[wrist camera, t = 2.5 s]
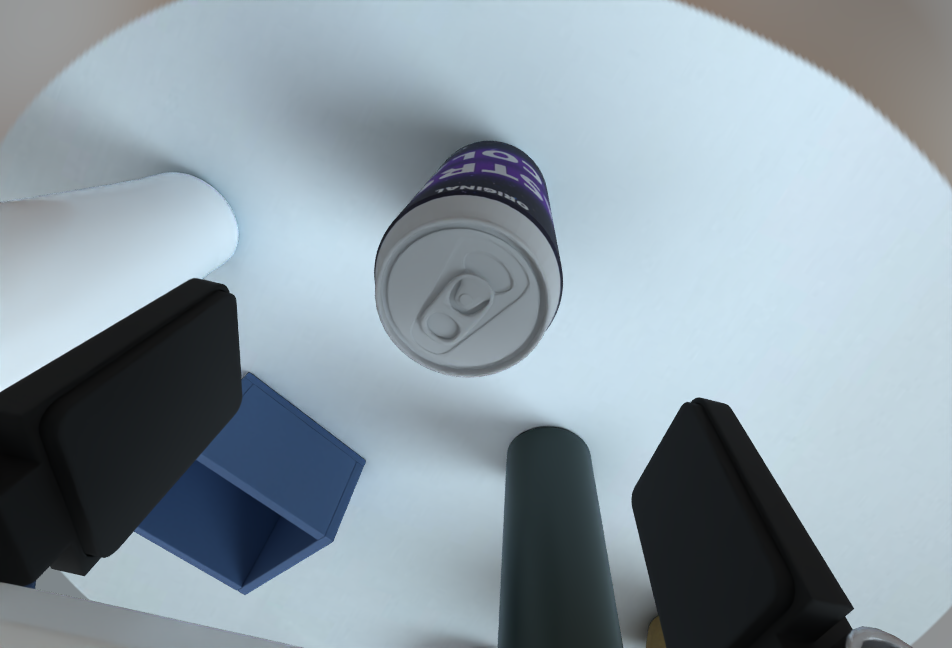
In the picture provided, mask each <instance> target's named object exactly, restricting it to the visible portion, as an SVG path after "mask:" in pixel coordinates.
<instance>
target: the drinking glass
mask: <svg viewBox="0 0 952 648" xmlns="http://www.w3.org/2000/svg"><path fill="white" fill-rule="evenodd" d="M238 238H239V231H238V225H237V221H236V218H235V215H234V213H233V211H232V209H231V207H230V206H229V204H228V203H227V201H226V200H225V199H224V197H223V196H222V195H221V194H220V193H219V192H218V191H217V190H216V189H215V188H213V187H212V186H211V185H209V184H208V183H206V182H205V181H203V180H201V179H199V178H197V177H195V176H192V175H189V174H185V173H179V172H166V173H160V174H156V175H152V176H149V177H145V178H142V179H138V180H132V181H126V182H121V183H115V184H109V185H103V186H97V187H91V188H85V189H79V190H73V191H66V192H60V193H54V194H48V195H42V196H35V197H29V198H23V199H16V200H10V201H4V202H0V392H1V391H3V390H4V389H6V388H8V387H9V386H11V385H13V384H14V383H16V382H18V381H19V380H21V379H23V378H25V377H26V376H28V375H30V374H31V373H33V372H35V371H36V370H38V369H40V368H41V367H43V366H45V365H46V364H48V363H50V362H51V361H53V360H55V359H56V358H58V357H60V356H62V355H63V354H65V353H67V352H68V351H70V350H72V349H73V348H75V347H77V346H78V345H80V344H82V343H83V342H85V341H87V340H88V339H90V338H92V337H93V336H95V335H97V334H99V333H100V332H102V331H104V330H105V329H107V328H109V327H110V326H112V325H114V324H115V323H117V322H119V321H120V320H122V319H124V318H125V317H127V316H129V315H130V314H132V313H134V312H136V311H137V310H139V309H141V308H142V307H144V306H146V305H147V304H149V303H151V302H152V301H154V300H156V299H157V298H159V297H161V296H162V295H164V294H166V293H167V292H169V291H171V290H173V289H174V288H176V287H178V286H179V285H181V284H183V283H184V282H186V281H188V280H189V279H192V278H199V279H203V278H204V277H205V276H206V275H208V274H209V273H211V272H212V271H214V270H215V269H217V268H218V267H220V266H221V265H223V264H224V263H225V262H227V261H228V260H229V259H230V258H231V256H232V255H233V254H234V252H235V250H236V247H237V244H238Z"/></svg>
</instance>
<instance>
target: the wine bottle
mask: <svg viewBox="0 0 952 648" xmlns="http://www.w3.org/2000/svg"><path fill="white" fill-rule="evenodd" d="M498 648H623V644H622V638H621V632H620V626H619V620H618V614H617V608H616V603H615V597H614V591H613V585H612V579H611V573H610V567H609V561H608V555H607V550H606V544H605V538H604V532H603V526H602V520H601V514H600V508H599V502H598V497H597V491H596V485H595V479H594V473H593V467H592V461H591V455H590V451H589V449H588V447H587V445H586V444H585V442H584V441H583V440H582V439H581V438H580V437H578V436H577V435H575V434H574V433H572V432H570V431H567V430H564V429H561V428H555V427H541V428H535V429H532V430H529V431H526V432H524V433H522V434H521V435H519V436H518V437H517V438H516V439H514V441H513V442H512V443H511V445H510V446H509V448H508V451H507V462H506V483H505V504H504V525H503V546H502V567H501V588H500V609H499V630H498Z"/></svg>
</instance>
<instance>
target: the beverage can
mask: <svg viewBox="0 0 952 648" xmlns="http://www.w3.org/2000/svg"><path fill="white" fill-rule="evenodd" d="M374 277H375V299H376V307H377V311H378V314H379V318H380V321H381V323H382V325H383V327H384V329H385V331H386V333H387V334H388V335H389V337H390V338H391V340H392V341H393V342H394V344H395V345H396V346H397V347H398V348H399V349H400V350H401V351H402V352H403V353H404V354H406V355H407V356H408V357H409V358H410V359H412V360H414V361H415V362H417V363H418V364H420V365H422V366H424V367H426V368H428V369H430V370H432V371H435V372H438V373H442V374H445V375H450V376H456V377H482V376H487V375H492V374H495V373H498V372H501V371H504V370H506V369H508V368H510V367H512V366H514V365H516V364H517V363H519V362H520V361H521V360H523V359H524V358H525V357H527V356H528V355H529V354H530V353H531V352H532V351H533V349H534V348H535V347H536V346H537V344H538V343H539V342H540V340H541V339H542V337H543V335H544V333H545V331H546V330H547V329H548V327H549V326H550V324H551V322H552V321H553V319H554V317H555V315H556V313H557V310H558V308H559V305H560V301H561V296H562V289H563V274H562V267H561V261H560V256H559V251H558V245H557V240H556V235H555V230H554V224H553V219H552V214H551V208H550V203H549V198H548V192H547V187H546V183H545V180H544V178H543V175H542V173H541V171H540V170H539V168H538V166H537V165H536V164H535V162H534V161H533V160H532V159H531V158H530V157H529V156H528V155H527V154H525V153H524V152H523V151H521V150H520V149H518V148H516V147H514V146H512V145H509V144H506V143H503V142H497V141H482V142H476V143H473V144H470V145H467V146H465V147H463V148H461V149H459V150H458V151H456V152H455V153H454V154H452V155H451V156H450V157H449V158H448V159H447V160H446V161H445V163H444V164H443V165H442V166H441V167H440V168H439V170H438V171H437V172H436V173H435V174H434V175H433V176H432V178H431V179H430V180H429V181H428V182H427V183H426V184H425V186H424V187H423V188H422V189H421V190H420V191H419V192H418V194H417V195H416V196H415V197H414V198H413V199H412V200H411V202H410V203H409V204H408V205H407V206H406V207H405V209H404V210H403V211H402V212H401V213H400V214H399V215H398V217H397V218H396V219H395V220H394V221H393V222H392V224H391V225H390V226H389V228H388V229H387V231H386V232H385V234H384V236H383V238H382V240H381V242H380V245H379V247H378V251H377V254H376V259H375V268H374Z"/></svg>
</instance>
